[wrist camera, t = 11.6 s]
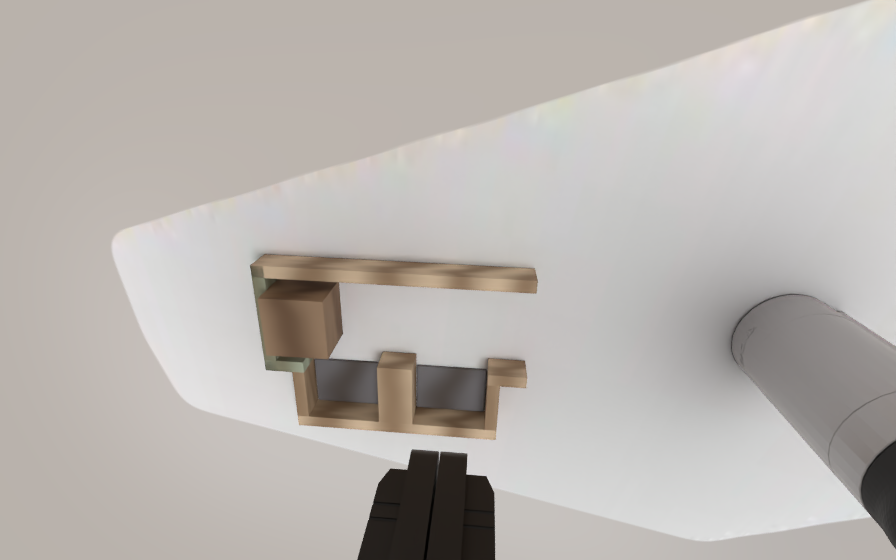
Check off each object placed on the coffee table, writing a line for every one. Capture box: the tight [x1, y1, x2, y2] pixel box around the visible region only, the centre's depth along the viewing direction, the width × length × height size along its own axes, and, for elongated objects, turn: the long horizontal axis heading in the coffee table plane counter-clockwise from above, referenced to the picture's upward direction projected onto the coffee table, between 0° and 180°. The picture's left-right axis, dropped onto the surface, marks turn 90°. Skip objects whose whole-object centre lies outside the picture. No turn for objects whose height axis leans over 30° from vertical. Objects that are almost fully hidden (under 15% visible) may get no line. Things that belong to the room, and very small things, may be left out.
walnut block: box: [257, 279, 343, 359], centre depth 45 cm, size 6×6×5 cm
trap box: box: [250, 254, 538, 440], centre depth 47 cm, size 26×18×3 cm
